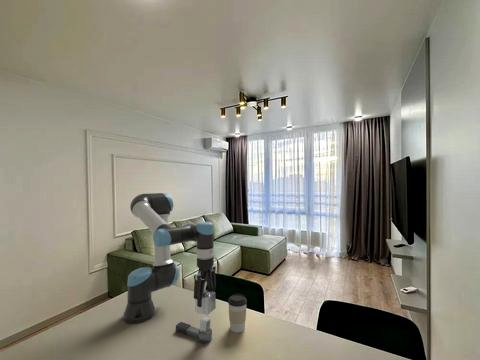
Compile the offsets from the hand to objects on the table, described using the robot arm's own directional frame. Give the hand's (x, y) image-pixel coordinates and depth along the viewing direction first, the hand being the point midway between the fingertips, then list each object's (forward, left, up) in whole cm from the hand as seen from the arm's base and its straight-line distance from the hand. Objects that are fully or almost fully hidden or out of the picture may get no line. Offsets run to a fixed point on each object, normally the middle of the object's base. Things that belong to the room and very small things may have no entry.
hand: (205, 309), depth 101 cm
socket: (0, 0, 0) cm, 0 cm away
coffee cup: (+9, +13, -13) cm, 21 cm away
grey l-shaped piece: (-7, 0, -13) cm, 15 cm away
